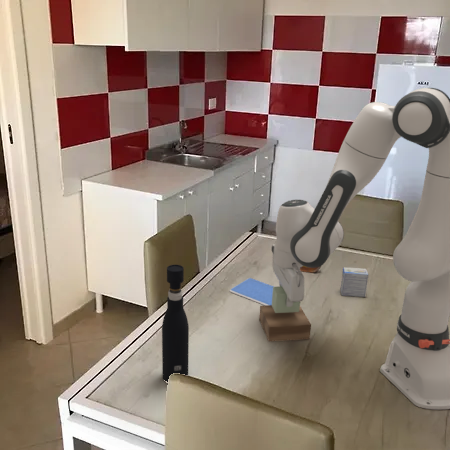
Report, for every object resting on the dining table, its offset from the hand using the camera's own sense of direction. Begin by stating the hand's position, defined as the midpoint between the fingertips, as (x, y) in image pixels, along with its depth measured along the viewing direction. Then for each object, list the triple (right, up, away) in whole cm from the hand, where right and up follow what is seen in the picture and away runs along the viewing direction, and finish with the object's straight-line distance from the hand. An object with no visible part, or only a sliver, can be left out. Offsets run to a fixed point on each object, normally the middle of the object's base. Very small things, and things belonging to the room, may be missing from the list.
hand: (286, 300), depth 148 cm
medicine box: (+25, -2, +25) cm, 36 cm away
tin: (+10, +5, +42) cm, 44 cm away
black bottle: (-30, -16, -19) cm, 39 cm away
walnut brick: (0, -9, +3) cm, 10 cm away
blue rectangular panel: (-5, -2, +23) cm, 24 cm away
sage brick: (0, -2, +1) cm, 3 cm away
